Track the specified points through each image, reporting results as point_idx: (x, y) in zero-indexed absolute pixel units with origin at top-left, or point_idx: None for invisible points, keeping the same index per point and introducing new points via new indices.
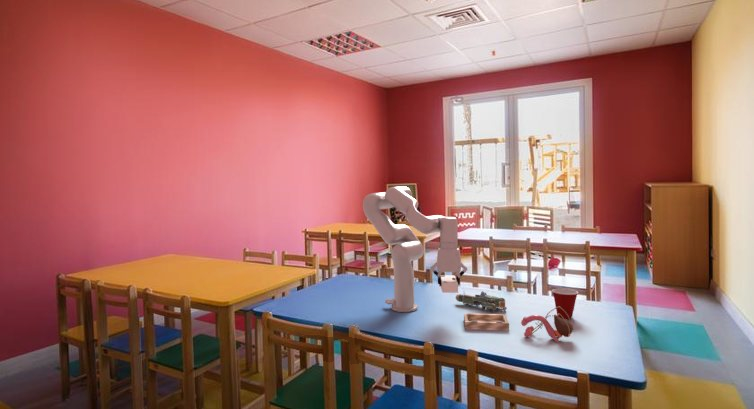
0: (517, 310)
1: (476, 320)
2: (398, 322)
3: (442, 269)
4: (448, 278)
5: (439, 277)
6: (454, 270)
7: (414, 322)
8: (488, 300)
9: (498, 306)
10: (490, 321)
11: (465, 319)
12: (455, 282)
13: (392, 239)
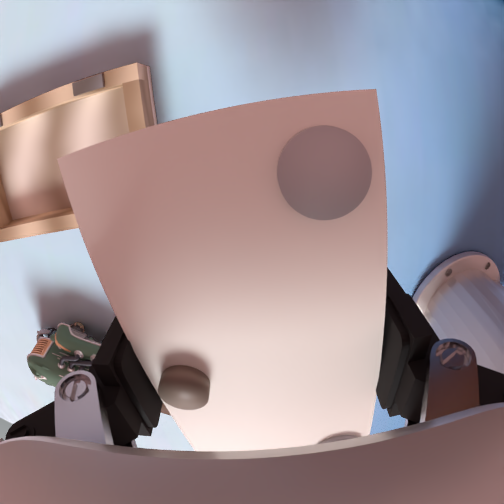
0: (22, 344)
1: None
2: (485, 123)
3: (474, 472)
4: (270, 400)
5: (428, 342)
6: (76, 480)
7: (427, 124)
8: (81, 367)
9: (54, 344)
10: (46, 189)
11: (139, 106)
12: (110, 210)
13: None
